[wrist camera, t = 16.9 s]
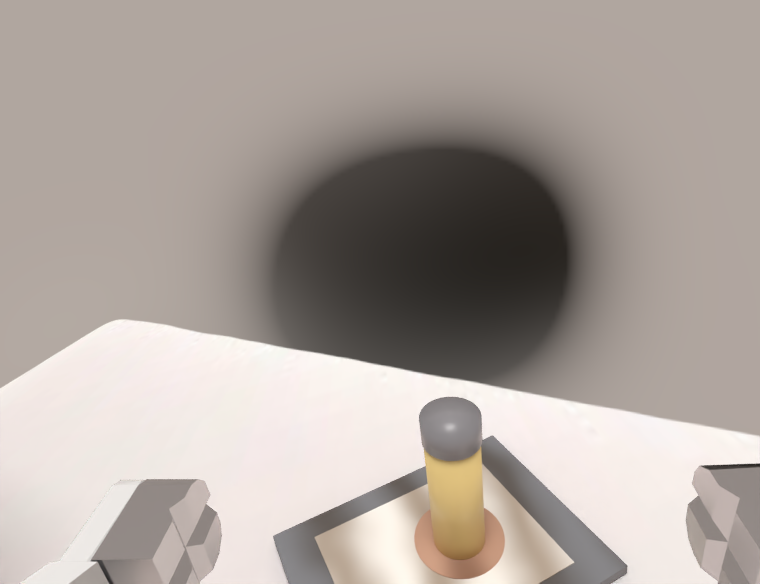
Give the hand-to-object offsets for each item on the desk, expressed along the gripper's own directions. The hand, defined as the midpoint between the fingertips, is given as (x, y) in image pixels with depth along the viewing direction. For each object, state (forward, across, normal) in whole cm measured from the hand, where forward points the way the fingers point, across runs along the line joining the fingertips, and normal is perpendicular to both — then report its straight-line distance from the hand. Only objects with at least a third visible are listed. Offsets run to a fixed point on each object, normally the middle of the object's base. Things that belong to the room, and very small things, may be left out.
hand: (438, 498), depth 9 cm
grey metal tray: (+21, -2, -30) cm, 36 cm away
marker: (+22, 0, -29) cm, 36 cm away
